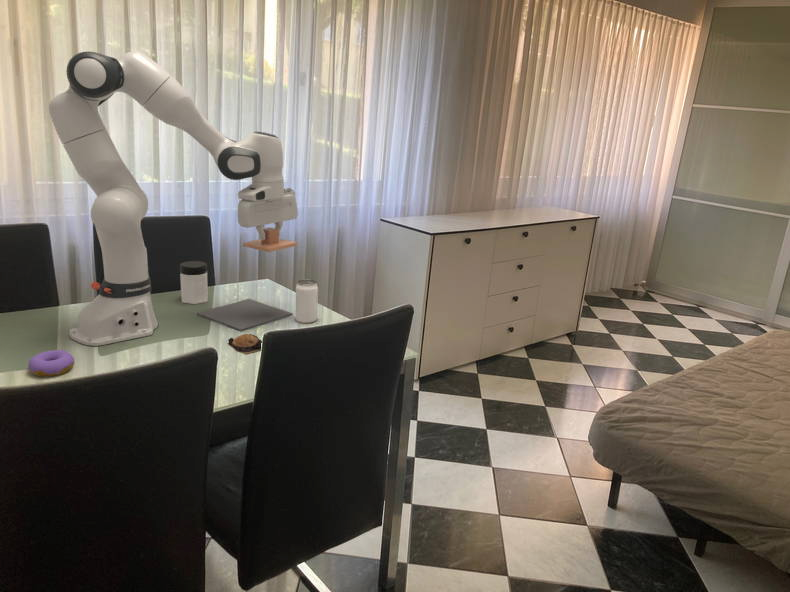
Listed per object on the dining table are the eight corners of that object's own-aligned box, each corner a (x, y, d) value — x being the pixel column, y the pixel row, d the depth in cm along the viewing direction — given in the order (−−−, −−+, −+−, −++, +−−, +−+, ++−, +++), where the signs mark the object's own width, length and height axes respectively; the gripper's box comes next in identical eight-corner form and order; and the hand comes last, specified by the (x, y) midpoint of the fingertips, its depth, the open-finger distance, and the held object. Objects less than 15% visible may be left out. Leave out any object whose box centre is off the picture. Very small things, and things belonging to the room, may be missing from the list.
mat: (240, 331, 173) (240, 329, 173) (197, 314, 184) (197, 312, 184) (292, 315, 188) (292, 313, 188) (249, 300, 200) (249, 298, 199)
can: (306, 325, 181) (306, 286, 177) (291, 319, 184) (291, 281, 181) (321, 320, 186) (322, 282, 182) (306, 314, 189) (306, 277, 186)
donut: (26, 364, 145) (29, 344, 144) (70, 365, 150) (73, 346, 149) (27, 380, 137) (30, 360, 136) (74, 381, 142) (76, 362, 141)
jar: (187, 306, 191) (186, 268, 188) (176, 299, 197) (174, 263, 193) (214, 300, 197) (212, 264, 194) (202, 294, 203) (200, 259, 199)
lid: (269, 252, 172) (268, 234, 171) (243, 246, 178) (242, 229, 177) (297, 245, 181) (296, 228, 179) (271, 240, 187) (270, 223, 185)
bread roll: (271, 350, 163) (271, 337, 162) (243, 357, 157) (243, 344, 156) (251, 338, 170) (251, 325, 169) (223, 344, 165) (223, 331, 164)
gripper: (286, 186, 185) (288, 231, 189) (232, 193, 169) (235, 242, 173) (302, 188, 181) (302, 234, 185) (248, 195, 165) (250, 245, 169)
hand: (269, 238), depth 179 cm, fingers closed on lid, 3 cm apart
